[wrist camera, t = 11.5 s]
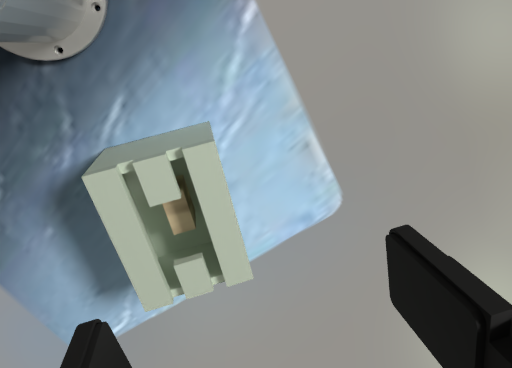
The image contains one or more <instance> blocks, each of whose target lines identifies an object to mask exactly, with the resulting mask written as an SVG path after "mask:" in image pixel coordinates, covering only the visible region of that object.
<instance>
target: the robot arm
mask: <svg viewBox="0 0 512 368" xmlns="http://www.w3.org/2000/svg"><path fill="white" fill-rule="evenodd" d="M97 5H99V6H100V11H97V10H96V6H97ZM107 5H108V0H0V47H2V48H3V49H5V50H7V51H9V52H12V53H14V54H16V55H18V56H22V57H25V58H29V59H34V60H44V61H50V60H60V59H65V58H69V57H71V56H74V55H76V54H79V53H80V52H82V51H83V50H85V49H86V48H87V47H89V46H90V45H91V44H92V42H93V41H94V40H95V39H96V38H97V36H98V35H99V33H100V31H101V29H102V27H103V25H104V21H105V18H106V15H107ZM60 47H61V48H62V49H63V53H60V52H59V48H60ZM386 251H387V264H388V277H389V290H390V298H391V301H392V303H393V305H394V307H395V308H396V309H397V310H398V312H399V313H400V314H401V315H402V317H403V318H404V319H405V321H406V322H407V323H408V324H409V326H410V327H411V328H412V329H413V331H414V332H415V333H416V334H417V336H418V337H419V338H420V339H421V341H422V342H423V343H424V345H425V346H426V347H427V348H428V350H429V351H430V352H431V353H432V355H433V356H434V357H435V358H436V360H437V361H438V362H439V363H440V365H441V366H442V367H443V368H512V305H511V304H510V303H509V302H507V301H506V300H505V299H504V298H502V297H501V296H500V295H499V294H497V293H496V292H495V291H494V290H492V289H491V288H490V287H489V286H487V285H486V284H485V283H484V282H482V281H481V280H480V279H479V278H477V277H476V276H475V275H474V274H472V273H471V272H470V271H469V270H467V269H466V268H465V267H463V266H462V265H461V264H460V263H459V262H457V261H456V260H455V259H453V258H452V257H450V256H447V255H446V254H444V253H443V252H442V251H441V250H439V249H438V248H437V247H436V246H434V245H433V244H432V243H431V242H429V241H428V240H427V239H426V238H425V237H423V236H422V235H421V234H420V233H418V232H417V231H416V230H415V229H413V228H412V227H411V226H409V225H403V226H400V227H397V228H393V229H391V230H390V232H389V235H387V236H386ZM60 368H132V367H131V365H130V363H129V361H128V359H127V357H126V356H125V354H124V352H123V350H122V348H121V347H120V345H119V343H118V341H117V339H116V337H115V336H114V334H113V332H112V330H111V328H110V326H109V325H108V323H107V322H101V320H99V319H95V320H92V321H89V322H85V323H82V324H79V325H78V326H77V328H76V330H75V332H74V335H73V337H72V340H71V342H70V344H69V347H68V350H67V352H66V355H65V357H64V359H63V362H62V364H61V367H60Z"/></svg>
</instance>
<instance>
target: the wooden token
mask: <svg viewBox="0 0 512 368" xmlns="http://www.w3.org/2000/svg"><path fill="white" fill-rule="evenodd" d="M175 178H176V181H177V183H178V186H179V189H180V192H181V198H180V199H177V200H173V201H170V202H166V203H163V204H162V205H163V207H164V210H165V212H166V215H167V218H168V220H169V223H170V226H171V228H172V231H173V233H174V235H176V234H179V233H183V232H186V231H190V230H193V229H196V215H195V208H194V205H193V203H192V200H191V197H190V194H189V191H188V188H187V185H186V182H185V179H184V176H183V175H180V176H176V177H175Z"/></svg>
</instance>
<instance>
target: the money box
mask: <svg viewBox="0 0 512 368" xmlns="http://www.w3.org/2000/svg"><path fill="white" fill-rule="evenodd" d="M180 175H183V176H184V179H185V182H186V185H187V188H188V191H189V194H190V197H191V200H192V203H193V205H194V208H195V215H196V229H193V230H190V231H186V232H183V233H179V234H176V235H174V233H173V231H172V228H171V226H170V223H169V220H168V218H167V215H166V212H165V210H164V207H163V205H162V204H163V203H166V202H170V201H173V200H177V199H180V198H181V192H180V189H179V186H178V183H177V181H176V178H175V177H176V176H180ZM81 178H82V180H83V182H84V184H85V186H86V188H87V190H88V192H89V194H90V196H91V199H92V201H93V203H94V205H95V207H96V209H97V211H98V213H99V215H100V217H101V220H102V222H103V224H104V226H105V228H106V230H107V232H108V234H109V236H110V238H111V241H112V243H113V245H114V247H115V249H116V251H117V253H118V255H119V257H120V259H121V262H122V264H123V266H124V268H125V270H126V272H127V274H128V276H129V278H130V280H131V283H132V285H133V287H134V289H135V291H136V293H137V295H138V297H139V299H140V301H141V304H142V306H143V308H144V310H145V312H147V311H150V310H154V309H157V308H160V307H163V306H167V305H170V304H173V297H176V296H179V295H182V294H185V296H186V299H189V298H193V297H196V296H199V295H202V294H205V293H209V292H212V291H214V288H213V285H215V284H218V283H222V282H226V285H227V287H228V286H231V285H235V284H238V283H241V282H245V281H248V280H251V279H254V278H253V274H252V271H251V267H250V264H249V260H248V257H247V253H246V249H245V246H244V242H243V239H242V235H241V232H240V228H239V225H238V221H237V218H236V214H235V211H234V207H233V203H232V200H231V196H230V193H229V189H228V186H227V182H226V179H225V175H224V172H223V168H222V165H221V161H220V158H219V154H218V151H217V147H216V144H215V140H214V137H213V133H212V130H211V126H210V123H209V121H208V122H204V123H200V124H197V125H193V126H189V127H185V128H182V129H178V130H174V131H170V132H166V133H163V134H159V135H155V136H151V137H148V138H144V139H140V140H136V141H132V142H129V143H125V144H121V145H117V146H114V147H110V148H106V149H104V150H103V152H102V153H101V154H100V155H99V156H98V158H97V159H96V160H95V161H94V162H93V164H92V165H91V166H90V167H89V168H88V170H87V171H86V172H85V173H84V174H83V176H82V177H81Z"/></svg>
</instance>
